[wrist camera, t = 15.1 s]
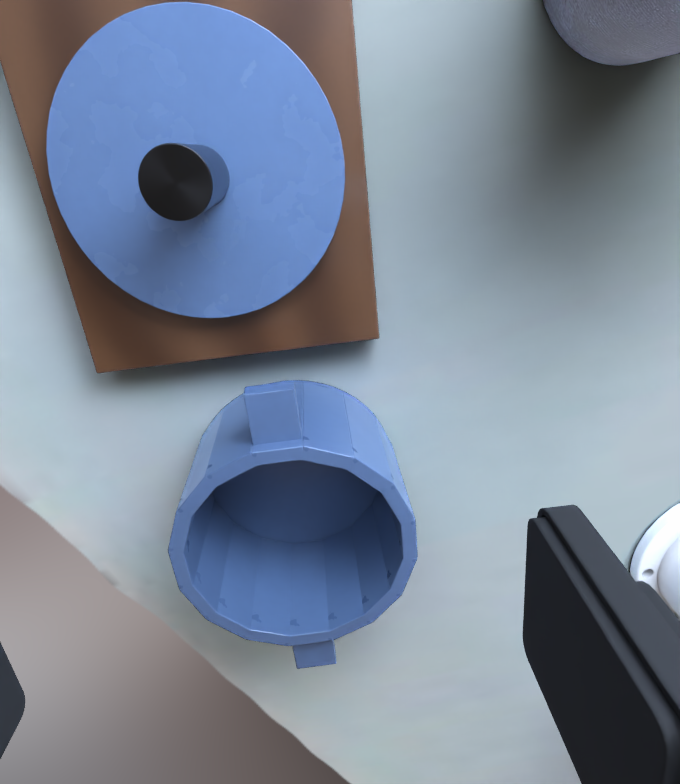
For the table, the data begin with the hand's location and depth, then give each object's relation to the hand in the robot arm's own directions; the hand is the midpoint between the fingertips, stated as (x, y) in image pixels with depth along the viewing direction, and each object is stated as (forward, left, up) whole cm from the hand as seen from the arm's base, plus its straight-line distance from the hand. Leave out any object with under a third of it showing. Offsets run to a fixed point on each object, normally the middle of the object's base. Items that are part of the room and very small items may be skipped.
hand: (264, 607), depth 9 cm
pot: (+1, +12, -24) cm, 27 cm away
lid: (+3, -6, -22) cm, 23 cm away
